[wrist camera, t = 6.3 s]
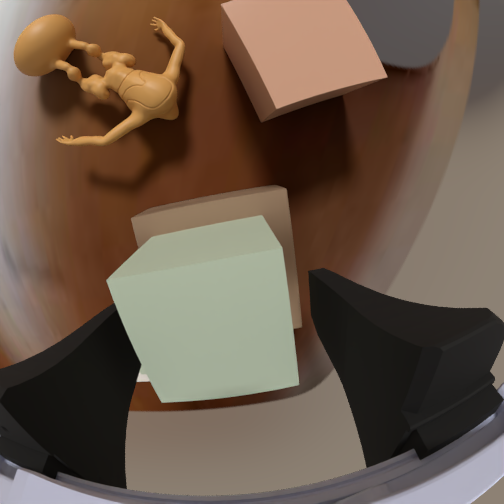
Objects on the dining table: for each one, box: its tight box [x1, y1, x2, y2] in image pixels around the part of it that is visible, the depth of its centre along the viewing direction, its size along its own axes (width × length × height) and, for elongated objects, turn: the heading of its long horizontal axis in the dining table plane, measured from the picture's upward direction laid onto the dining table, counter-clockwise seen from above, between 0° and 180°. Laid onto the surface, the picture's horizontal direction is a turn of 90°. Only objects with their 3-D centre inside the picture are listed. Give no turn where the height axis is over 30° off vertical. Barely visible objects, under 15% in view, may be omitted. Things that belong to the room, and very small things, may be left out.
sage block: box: [106, 215, 299, 402], centre depth 10 cm, size 5×5×5 cm
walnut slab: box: [131, 185, 302, 329], centre depth 14 cm, size 7×7×3 cm
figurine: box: [14, 14, 185, 146], centre depth 10 cm, size 8×6×12 cm
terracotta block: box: [221, 0, 387, 123], centre depth 10 cm, size 5×5×5 cm
